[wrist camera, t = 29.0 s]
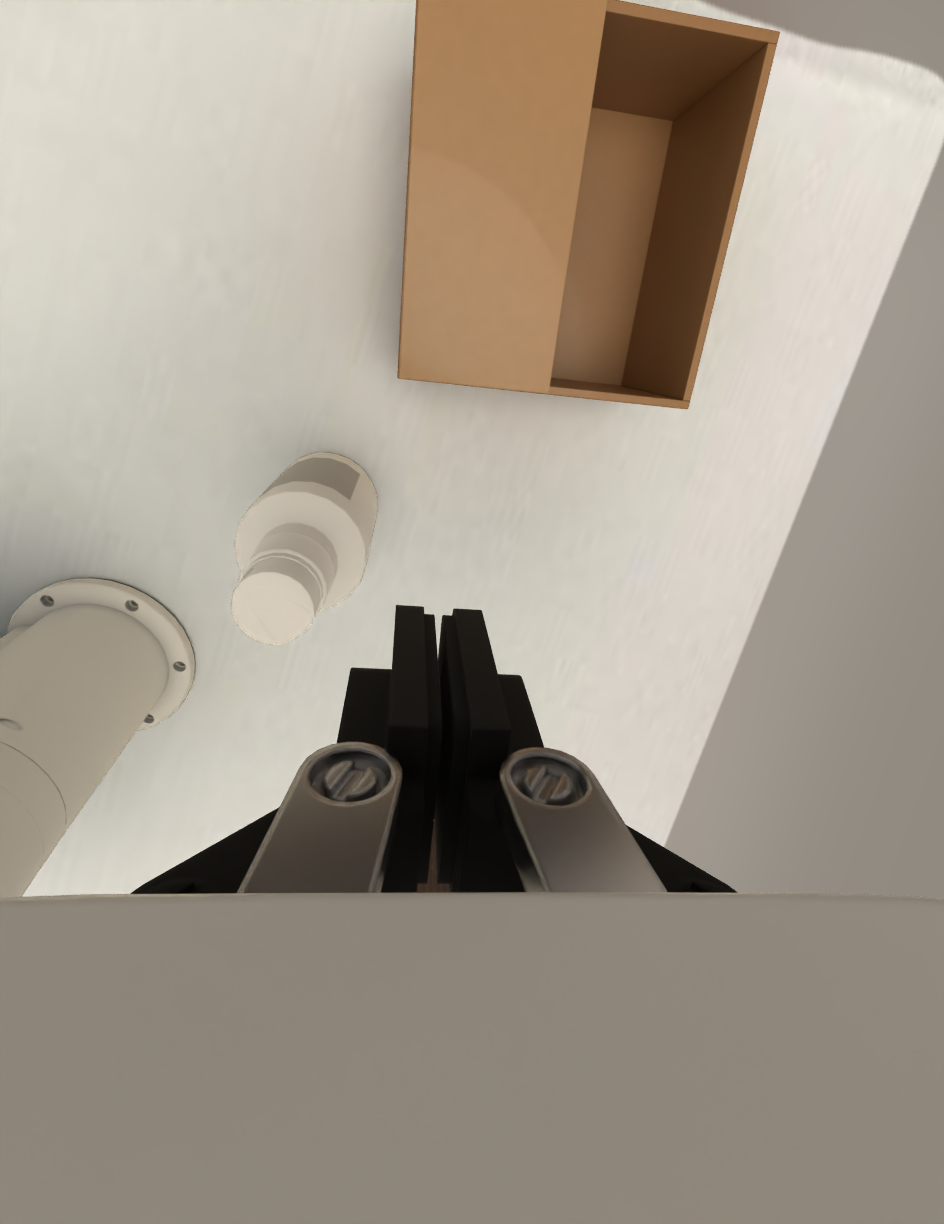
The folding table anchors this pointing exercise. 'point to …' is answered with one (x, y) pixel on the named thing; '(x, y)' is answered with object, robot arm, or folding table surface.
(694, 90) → the carton
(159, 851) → the folding table surface
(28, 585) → the folding table surface
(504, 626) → the folding table surface
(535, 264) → the flap
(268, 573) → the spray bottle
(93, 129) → the folding table surface
